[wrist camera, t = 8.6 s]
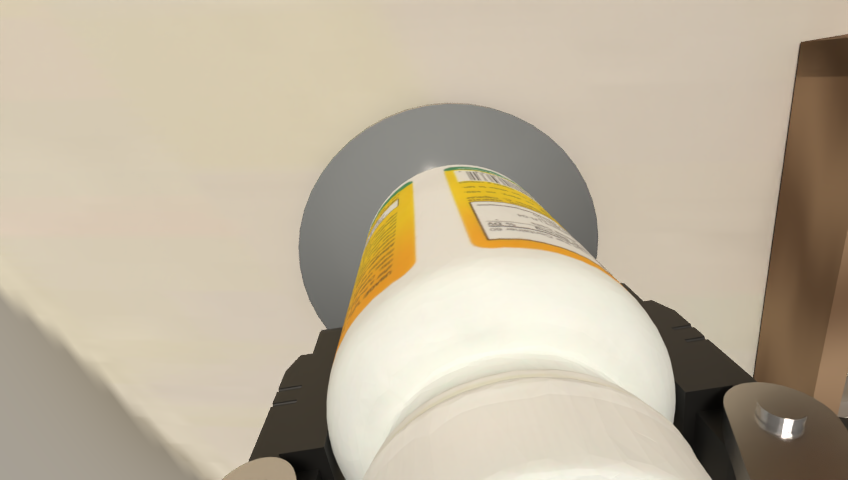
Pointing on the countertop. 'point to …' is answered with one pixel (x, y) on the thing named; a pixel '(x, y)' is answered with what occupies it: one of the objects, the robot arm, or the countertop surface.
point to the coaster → (413, 154)
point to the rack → (812, 237)
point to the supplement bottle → (495, 349)
